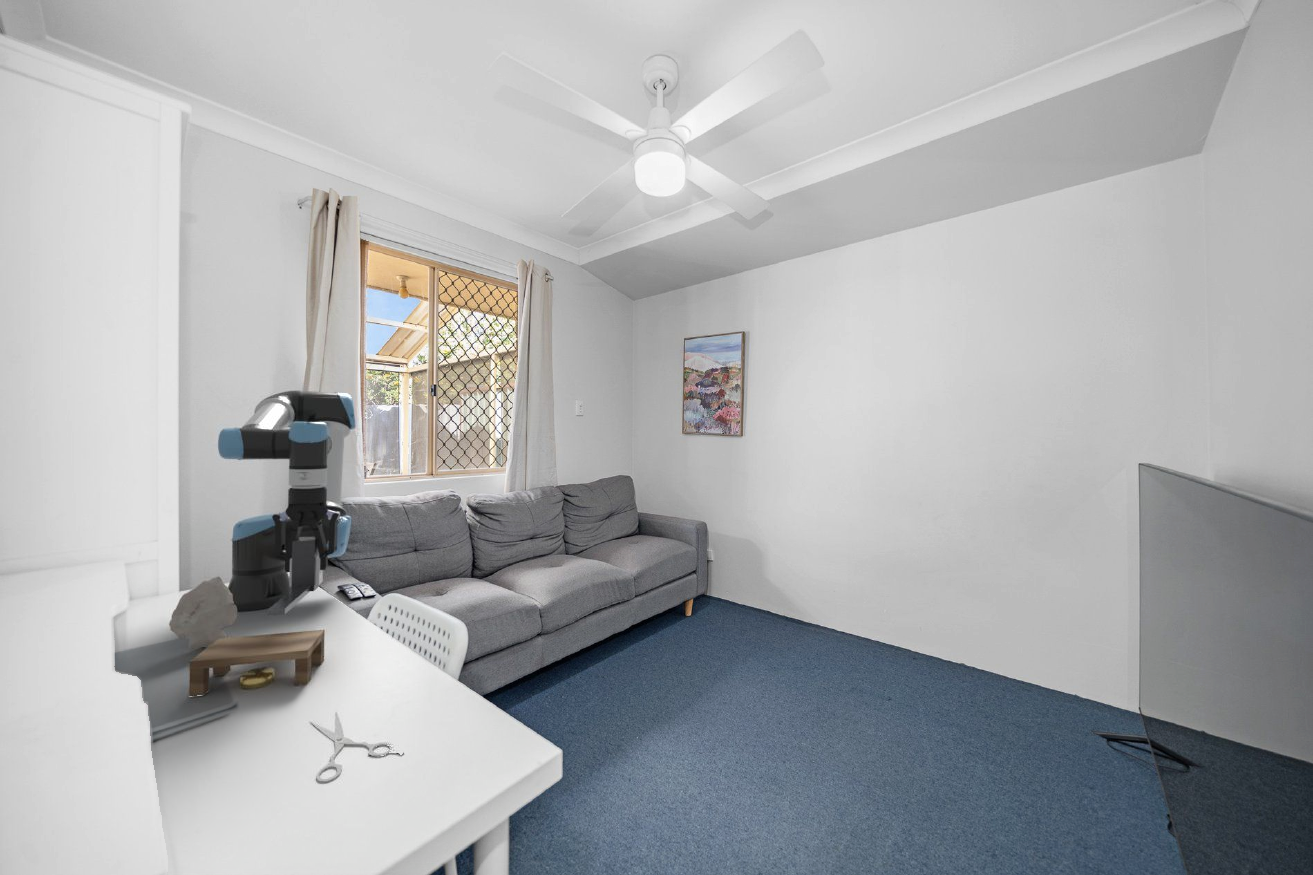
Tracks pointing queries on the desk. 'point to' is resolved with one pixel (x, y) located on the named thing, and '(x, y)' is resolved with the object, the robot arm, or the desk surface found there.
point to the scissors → (339, 744)
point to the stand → (257, 655)
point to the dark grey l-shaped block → (299, 574)
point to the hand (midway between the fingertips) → (306, 584)
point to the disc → (257, 678)
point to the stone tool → (204, 613)
